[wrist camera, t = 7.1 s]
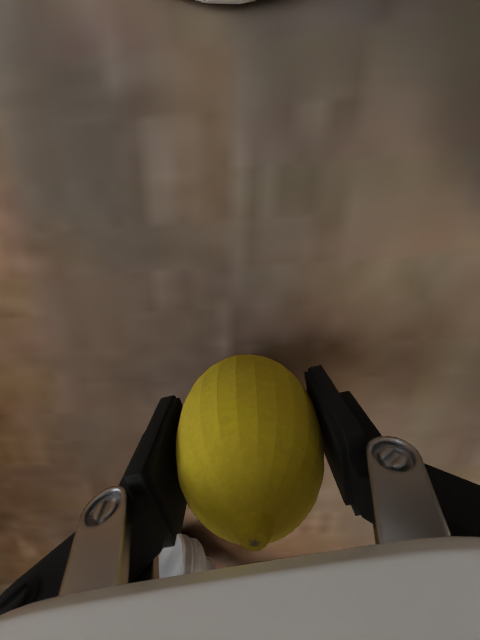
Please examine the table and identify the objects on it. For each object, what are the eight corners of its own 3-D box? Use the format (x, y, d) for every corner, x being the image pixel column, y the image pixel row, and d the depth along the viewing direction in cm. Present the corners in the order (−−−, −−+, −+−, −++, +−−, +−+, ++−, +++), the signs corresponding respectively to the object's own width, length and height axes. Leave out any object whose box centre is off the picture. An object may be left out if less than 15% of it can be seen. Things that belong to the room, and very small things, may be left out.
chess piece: (168, 525, 19) (271, 554, 22) (139, 611, 16) (261, 630, 19) (190, 541, 15) (308, 572, 18) (159, 652, 13) (302, 667, 16)
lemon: (316, 366, 14) (413, 528, 6) (254, 432, 15) (271, 631, 7) (234, 308, 13) (228, 417, 5) (176, 385, 14) (102, 561, 6)
